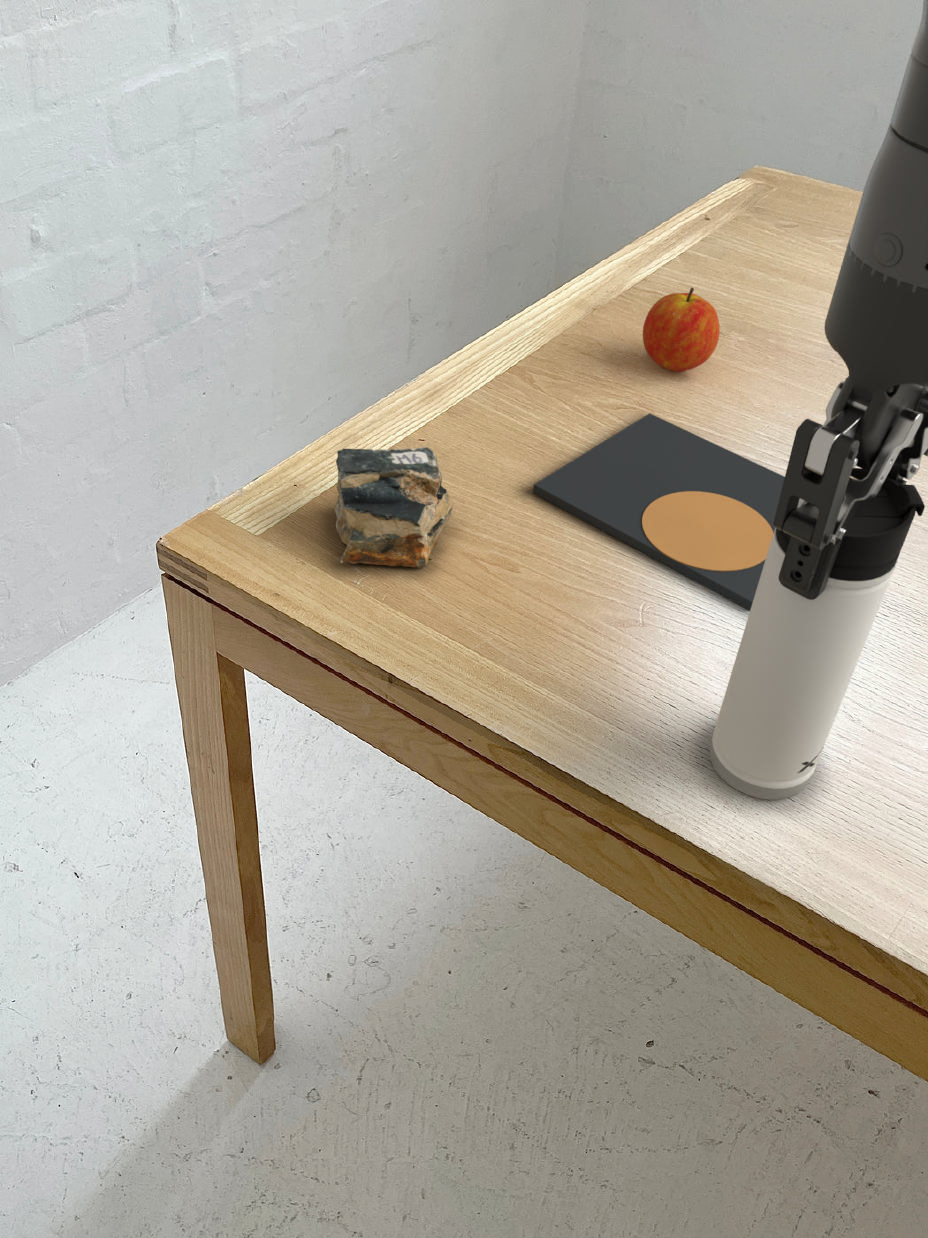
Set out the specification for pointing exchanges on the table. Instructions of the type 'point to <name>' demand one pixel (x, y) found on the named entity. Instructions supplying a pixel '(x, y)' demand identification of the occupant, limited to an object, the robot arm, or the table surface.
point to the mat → (676, 503)
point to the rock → (390, 505)
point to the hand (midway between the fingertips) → (832, 559)
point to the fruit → (681, 331)
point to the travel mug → (806, 651)
